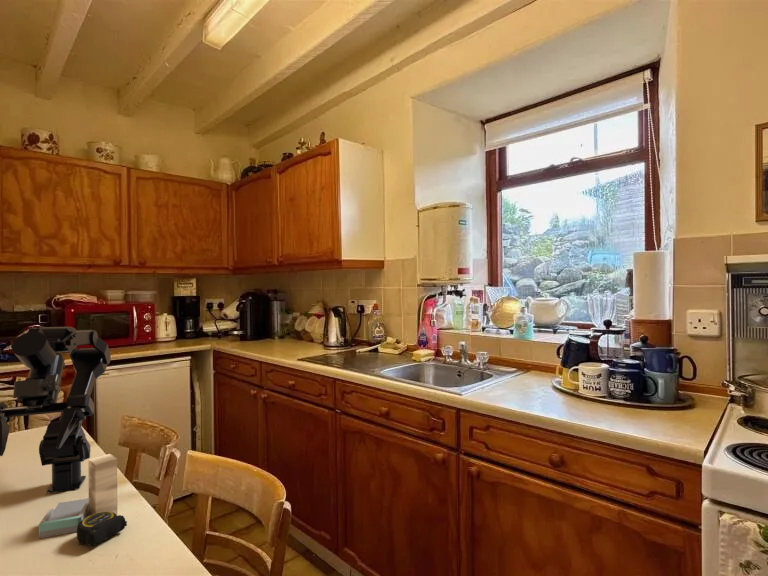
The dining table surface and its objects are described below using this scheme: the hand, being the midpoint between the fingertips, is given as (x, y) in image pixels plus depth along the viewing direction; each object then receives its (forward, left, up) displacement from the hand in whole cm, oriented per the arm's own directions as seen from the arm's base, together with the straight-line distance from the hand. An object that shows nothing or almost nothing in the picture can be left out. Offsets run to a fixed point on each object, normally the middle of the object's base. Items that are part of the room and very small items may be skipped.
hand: (29, 451), depth 85 cm
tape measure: (+7, +13, -16) cm, 22 cm away
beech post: (-2, +12, -16) cm, 20 cm away
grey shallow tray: (-3, +6, -16) cm, 17 cm away
